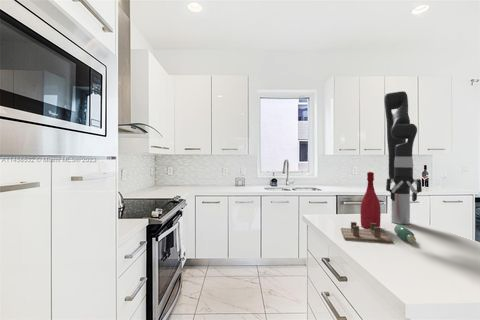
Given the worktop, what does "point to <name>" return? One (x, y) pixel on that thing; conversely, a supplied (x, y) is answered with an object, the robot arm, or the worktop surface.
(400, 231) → the green bottle
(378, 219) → the wine bottle
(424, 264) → the worktop surface
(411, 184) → the robot arm
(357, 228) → the walnut bottle rack
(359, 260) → the worktop surface
